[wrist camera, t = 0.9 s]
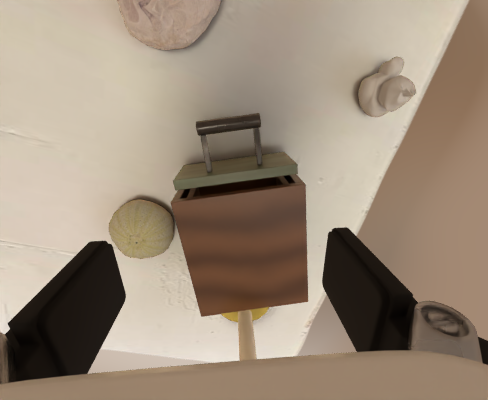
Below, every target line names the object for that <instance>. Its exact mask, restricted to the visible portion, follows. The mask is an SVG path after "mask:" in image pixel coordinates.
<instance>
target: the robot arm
mask: <svg viewBox="0 0 488 400" xmlns="http://www.w3.org/2000/svg"><path fill="white" fill-rule="evenodd" d="M322 283H323V288H324V290H325V292H326V294H327V295H328V297H329V299H330V301H331V303H332V305H333V307H334V309H335V311H336V313H337V314H338V316H339V318H340V320H341V322H342V324H343V326H344V328H345V330H346V332H347V334H348V336H349V337H350V339H351V341H352V343H353V345H354V347H355V349H356V351H357V352H351V353H336V354H335V353H334V354H322V355H308V356H295V357H282V358H269V359H256V360H244V361H231V362H219V363H208V364H195V365H183V366H171V367H160V368H148V369H137V370H126V371H115V372H103V373H92V374H87V373H88V371H89V369H90V367H91V365H92V363H93V362H94V360H95V358H96V356H97V354H98V352H99V350H100V348H101V346H102V344H103V342H104V340H105V339H106V337H107V335H108V333H109V331H110V329H111V327H112V325H113V323H114V321H115V319H116V317H117V316H118V314H119V312H120V310H121V308H122V306H123V304H124V302H125V298H126V294H125V290H124V286H123V282H122V279H121V275H120V272H119V268H118V264H117V261H116V257H115V254H114V250H113V247H112V245H111V244H108V243H107V241H93V242H89V243H88V244H87V245H86V246H85V247H84V248H83V249H82V250H81V251H80V252H79V253H78V254H77V255H76V256H75V257H74V258H73V259H72V260H71V261H70V262H69V263H68V264H67V265H66V266H65V267H64V268H63V269H62V270H61V271H60V272H59V273H58V274H57V275H56V276H55V277H54V278H53V279H52V280H51V281H50V282H49V283H48V284H47V285H46V286H45V287H44V288H43V289H42V290H41V291H40V292H39V293H38V294H37V295H36V296H35V297H34V298H33V299H32V300H31V301H30V302H29V303H28V304H27V305H26V306H25V307H24V308H23V309H22V310H21V311H20V312H19V313H18V314H17V315H16V316H15V317H14V318H13V319H12V320H11V321H10V322H9V323H8V325H9V327H10V330H9V331H8V332H7V333H6V334H3V333H0V400H488V341H487V340H484V339H482V338H480V337H478V336H477V331H476V329H475V327H474V325H473V324H472V323H471V322H470V320H469V319H468V318H466V317H465V316H464V315H463V314H461V313H460V312H458V311H456V310H455V309H453V308H451V307H449V306H447V305H444V304H441V303H437V302H433V301H422V302H419V303H418V302H417V301H416V300H415V299H414V298H413V294H412V293H411V292H410V291H409V290H408V289H407V288H406V287H405V286H404V285H403V284H402V283H401V282H400V281H399V280H398V279H397V278H396V277H395V276H394V275H393V274H392V273H391V272H390V271H389V269H387V267H385V265H384V264H383V263H382V262H381V261H380V260H379V259H378V258H377V257H376V256H375V255H374V254H373V253H372V252H371V251H370V250H369V249H368V248H367V247H366V246H365V245H364V244H363V243H362V242H361V241H360V240H359V239H358V238H357V237H356V236H355V235H354V234H353V233H352V232H351V231H350V230H349V229H348V228H334V229H333V230H332V232H329V233H328V240H327V248H326V255H325V263H324V271H323V279H322Z"/></svg>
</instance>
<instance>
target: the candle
mask: <svg viewBox="0 0 488 400" xmlns="http://www.w3.org/2000/svg"><path fill="white" fill-rule="evenodd" d="M268 308H269V307H266V308H259V309H252V310H245V311H238V312H231V313H224V314H222V315H223V316H224V317H226V318H227V319H229V320H231V321H235V322H238V331H239V356H240V361H244V360H256V350H255V340H254V331H253V320H256V319H259V318H260V317H261V316H262V315H264V314H265V313H266V311H267V310H268Z"/></svg>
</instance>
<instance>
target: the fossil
mask: <svg viewBox="0 0 488 400" xmlns="http://www.w3.org/2000/svg"><path fill="white" fill-rule="evenodd" d="M117 1H118V4H119V6H120V12H121V15H122V17H123V18H124V22H125V25H126V28H127V29H128V31H129V33H130V34H131V35H132V36H133V37H135V38H137V39H139V40H140V41H141V42H143V43H145V44H146V45H148V46H152V47H155V48H158V49H164V50H169V49H181V48H186V47H187V46H189V45H190V44H192V43H193V42H194V41H196V40H197V38H198V37H199V36H200V35H201V34H202V33H203V32H204V31H205V30H206V28H207V27H208V25H209V23H210V21H211V20H212V18H213V17H214V16H215V15H216V13H217V11H218V9H219V6H220V3H221V0H117Z"/></svg>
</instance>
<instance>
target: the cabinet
mask: <svg viewBox="0 0 488 400" xmlns="http://www.w3.org/2000/svg"><path fill="white" fill-rule="evenodd" d="M284 177H285V179H286V180H287V182H288V183H289V184H284V185H277V186H270V187H262V188H255V189H248V190H240V191H233V192H226V193H219V194H211V195H204V196H197V197H189V198H187V196H188V194H189V192H190V189H191V188H190V189H183V190H178V191H177V193H176V195H175V196H174V198H173V200H172V201H171V206H172V210H173V213H174V217H175V221H176V224H177V228H178V232H179V235H180V239H181V243H182V247H183V250H184V254H185V258H186V261H187V265H188V269H189V272H190V276H191V280H192V284H193V287H194V291H195V295H196V298H197V302H198V306H199V310H200V313H201V316H209V315H216V314H224V313H231V312H238V311H245V310H252V309H259V308H266V307H274V306H281V305H288V304H295V303H302V302H308V277H307V232H306V187H305V183H304V182H303V181H302V180H301V179H300V178H299V177H298V176H297V175H296V174H293V175H285V176H284Z"/></svg>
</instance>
